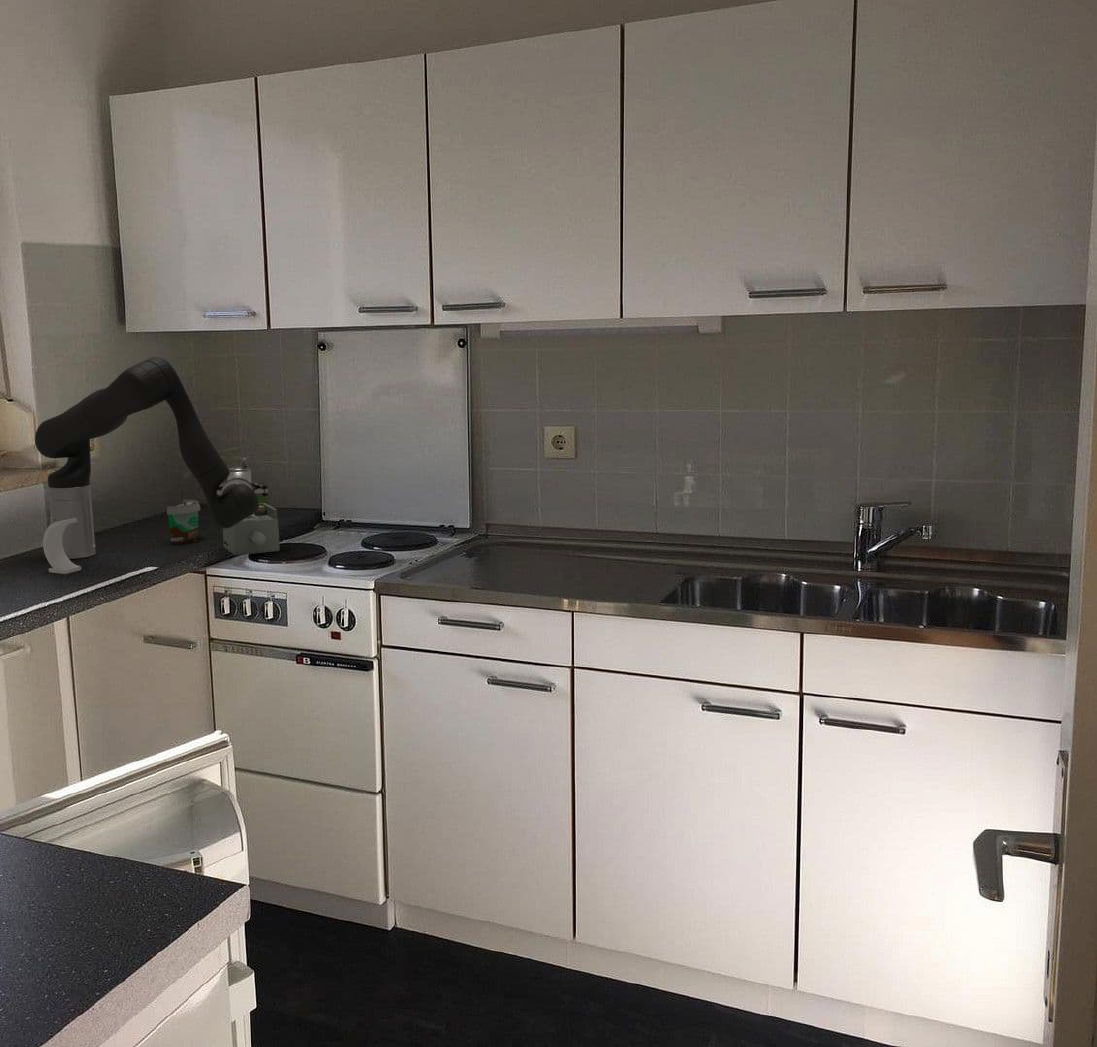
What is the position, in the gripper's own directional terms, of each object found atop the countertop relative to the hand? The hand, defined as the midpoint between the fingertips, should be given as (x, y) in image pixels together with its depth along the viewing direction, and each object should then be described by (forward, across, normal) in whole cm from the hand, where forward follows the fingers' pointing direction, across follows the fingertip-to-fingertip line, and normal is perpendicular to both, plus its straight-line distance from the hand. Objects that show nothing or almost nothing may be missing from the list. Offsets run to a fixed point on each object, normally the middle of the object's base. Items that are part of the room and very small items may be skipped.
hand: (240, 486), depth 264 cm
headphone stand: (-17, +39, +16) cm, 45 cm away
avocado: (+18, -3, +16) cm, 24 cm away
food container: (+14, +14, +16) cm, 25 cm away
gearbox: (-3, -2, +16) cm, 16 cm away
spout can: (-3, 0, +7) cm, 7 cm away
